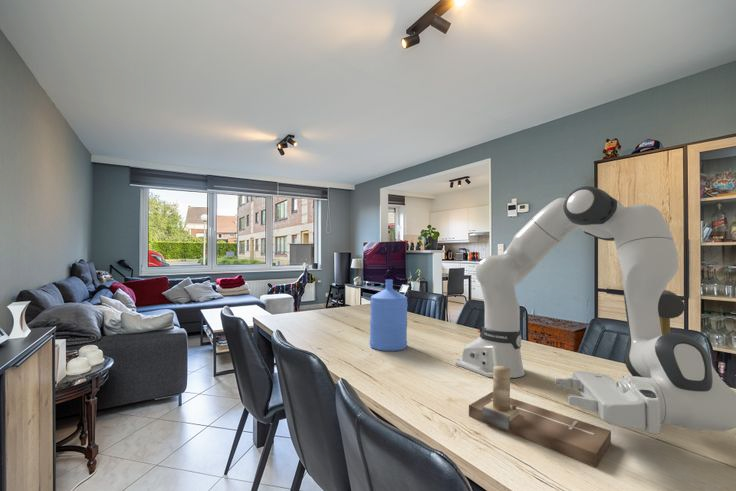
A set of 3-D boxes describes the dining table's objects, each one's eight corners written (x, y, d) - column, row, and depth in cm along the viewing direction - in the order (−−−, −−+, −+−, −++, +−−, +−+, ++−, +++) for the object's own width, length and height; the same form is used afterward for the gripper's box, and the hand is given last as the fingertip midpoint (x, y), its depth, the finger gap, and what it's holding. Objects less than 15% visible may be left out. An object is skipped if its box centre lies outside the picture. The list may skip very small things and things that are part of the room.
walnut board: (468, 415, 80) (468, 404, 80) (492, 401, 88) (492, 391, 89) (596, 467, 61) (596, 453, 61) (610, 442, 70) (610, 430, 70)
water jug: (408, 352, 132) (409, 281, 132) (369, 351, 132) (370, 280, 132) (405, 341, 147) (405, 278, 148) (369, 341, 147) (370, 278, 148)
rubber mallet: (688, 409, 85) (687, 292, 86) (650, 402, 90) (649, 290, 90) (677, 393, 96) (676, 289, 96) (643, 387, 100) (643, 287, 101)
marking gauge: (482, 419, 77) (482, 368, 77) (493, 411, 81) (494, 362, 81) (508, 429, 72) (508, 375, 73) (518, 420, 76) (519, 369, 76)
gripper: (614, 367, 79) (550, 361, 83) (663, 403, 60) (576, 394, 64) (615, 394, 79) (550, 387, 83) (664, 439, 59) (576, 427, 63)
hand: (561, 390), depth 73 cm, fingers open, 8 cm apart
